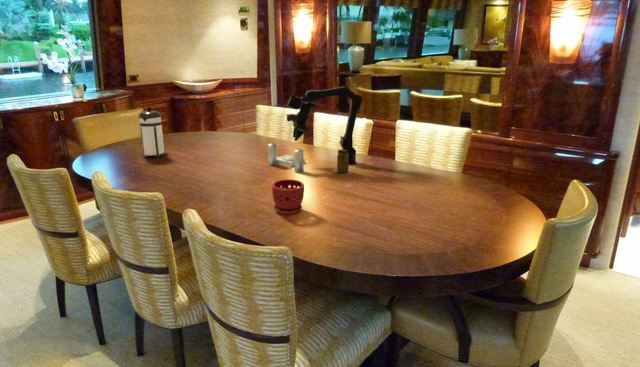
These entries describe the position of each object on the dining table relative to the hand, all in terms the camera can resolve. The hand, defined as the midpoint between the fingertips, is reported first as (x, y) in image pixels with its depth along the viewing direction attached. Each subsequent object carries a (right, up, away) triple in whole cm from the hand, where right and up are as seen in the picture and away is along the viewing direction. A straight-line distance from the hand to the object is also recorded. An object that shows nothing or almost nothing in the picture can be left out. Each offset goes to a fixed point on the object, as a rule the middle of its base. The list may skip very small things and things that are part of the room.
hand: (294, 139), depth 258 cm
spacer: (-13, -14, +7) cm, 20 cm away
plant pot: (+1, -36, -63) cm, 73 cm away
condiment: (+27, -19, -8) cm, 34 cm away
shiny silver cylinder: (+3, -18, -7) cm, 20 cm away
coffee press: (-87, -8, +28) cm, 92 cm away
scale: (-4, -13, +11) cm, 17 cm away
